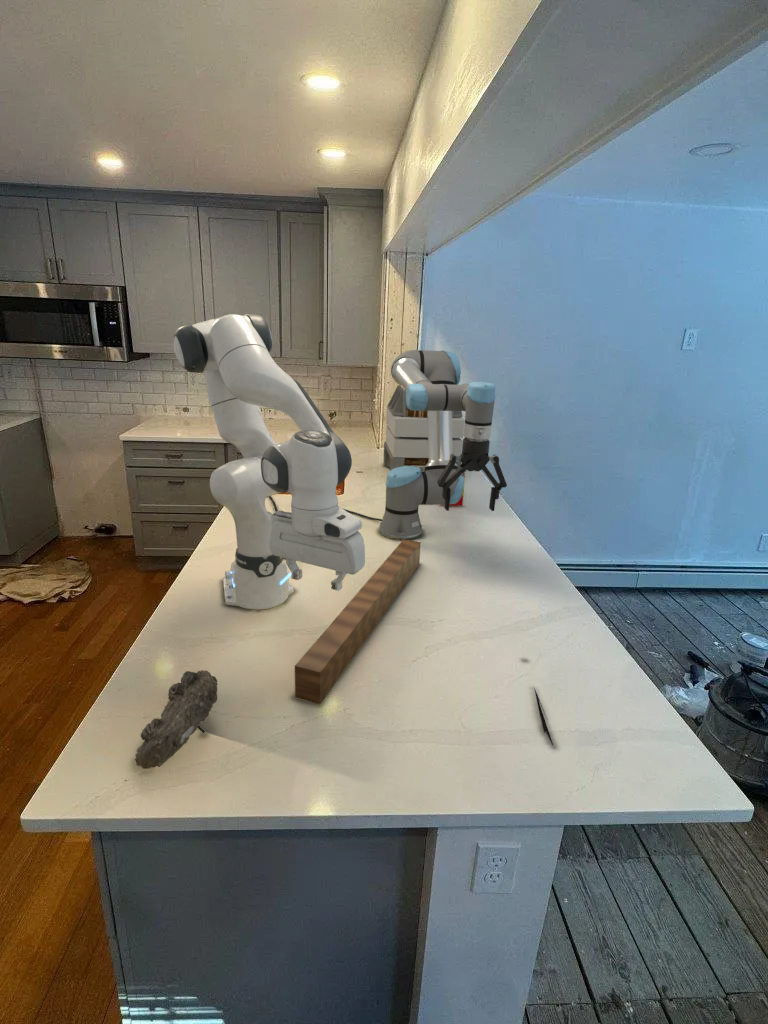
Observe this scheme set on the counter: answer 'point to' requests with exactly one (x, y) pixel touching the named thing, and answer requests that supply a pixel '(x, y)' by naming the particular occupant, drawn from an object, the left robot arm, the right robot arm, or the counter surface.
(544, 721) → the feather
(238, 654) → the counter surface
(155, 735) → the fossil
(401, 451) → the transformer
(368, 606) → the post
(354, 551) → the left robot arm
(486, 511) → the counter surface
